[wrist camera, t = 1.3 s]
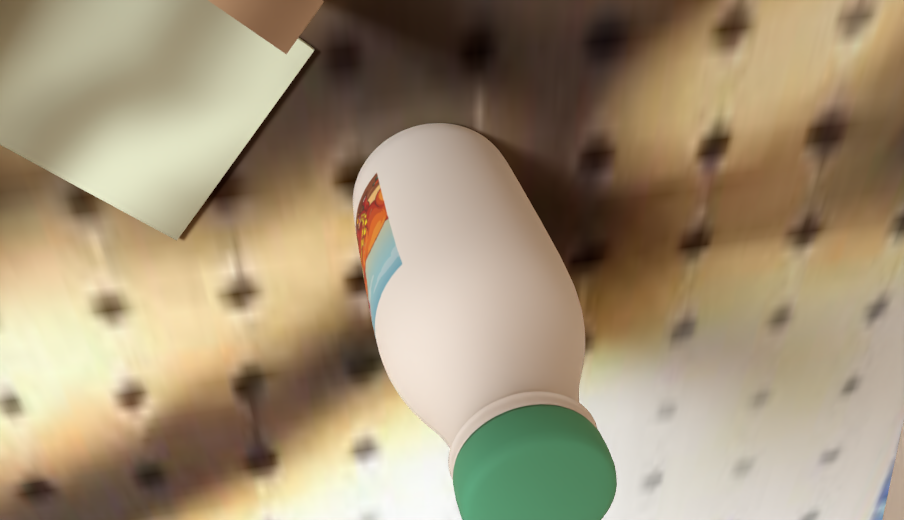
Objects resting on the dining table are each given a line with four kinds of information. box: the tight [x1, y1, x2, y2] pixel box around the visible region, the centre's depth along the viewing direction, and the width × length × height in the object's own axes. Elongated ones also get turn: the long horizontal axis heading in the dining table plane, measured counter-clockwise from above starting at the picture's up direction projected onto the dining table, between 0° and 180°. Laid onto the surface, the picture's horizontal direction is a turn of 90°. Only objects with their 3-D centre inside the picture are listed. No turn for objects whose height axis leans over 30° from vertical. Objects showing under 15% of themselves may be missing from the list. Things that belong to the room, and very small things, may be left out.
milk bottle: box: [353, 123, 617, 520], centre depth 32 cm, size 8×8×20 cm
